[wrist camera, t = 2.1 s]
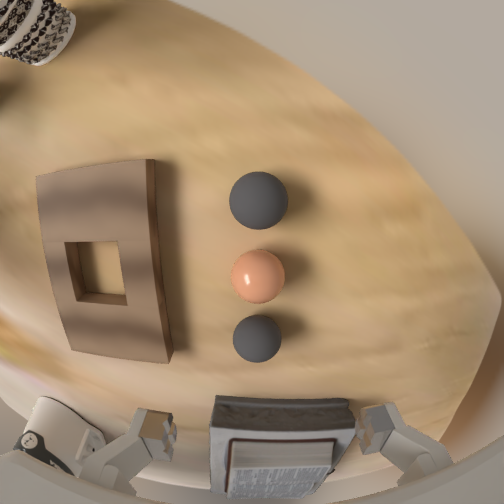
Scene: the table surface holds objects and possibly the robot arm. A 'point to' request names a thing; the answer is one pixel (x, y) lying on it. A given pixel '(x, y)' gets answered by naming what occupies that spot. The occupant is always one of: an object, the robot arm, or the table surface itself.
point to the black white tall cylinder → (34, 30)
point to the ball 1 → (258, 200)
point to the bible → (276, 445)
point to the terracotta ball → (257, 276)
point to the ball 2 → (257, 338)
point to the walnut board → (130, 251)
